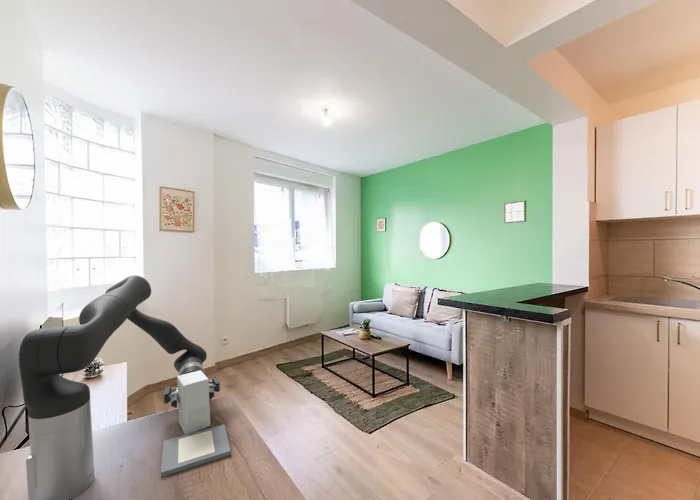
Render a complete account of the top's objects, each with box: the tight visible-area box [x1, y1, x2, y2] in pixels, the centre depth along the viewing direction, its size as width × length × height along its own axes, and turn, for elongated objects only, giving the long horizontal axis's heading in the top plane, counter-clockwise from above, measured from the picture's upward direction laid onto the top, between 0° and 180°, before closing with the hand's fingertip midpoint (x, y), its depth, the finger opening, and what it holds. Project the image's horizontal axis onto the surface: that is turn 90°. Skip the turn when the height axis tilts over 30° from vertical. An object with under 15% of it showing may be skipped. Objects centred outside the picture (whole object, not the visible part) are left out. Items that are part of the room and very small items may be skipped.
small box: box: [176, 370, 211, 435], centre depth 86 cm, size 8×6×13 cm
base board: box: [160, 423, 232, 478], centre depth 76 cm, size 14×12×1 cm
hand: (193, 400), depth 85 cm, fingers open, 8 cm apart
